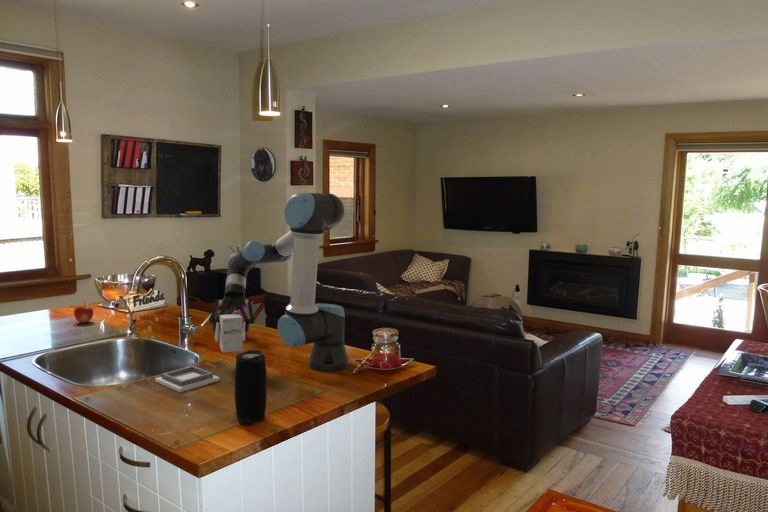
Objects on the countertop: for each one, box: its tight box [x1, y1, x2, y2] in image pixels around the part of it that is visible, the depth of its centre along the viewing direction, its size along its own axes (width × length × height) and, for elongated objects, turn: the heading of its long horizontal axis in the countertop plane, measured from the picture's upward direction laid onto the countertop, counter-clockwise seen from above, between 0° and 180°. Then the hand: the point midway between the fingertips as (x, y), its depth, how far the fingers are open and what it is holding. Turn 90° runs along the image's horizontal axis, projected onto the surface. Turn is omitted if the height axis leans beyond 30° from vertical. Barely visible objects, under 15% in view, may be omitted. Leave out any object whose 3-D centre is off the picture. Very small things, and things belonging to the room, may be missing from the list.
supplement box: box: [219, 313, 244, 354], centre depth 207 cm, size 7×7×13 cm
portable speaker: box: [233, 349, 268, 426], centre depth 161 cm, size 9×9×20 cm
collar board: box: [154, 365, 220, 393], centre depth 192 cm, size 15×15×3 cm
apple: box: [73, 302, 94, 324], centre depth 270 cm, size 8×8×10 cm
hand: (229, 339), depth 204 cm, fingers closed on supplement box, 9 cm apart
